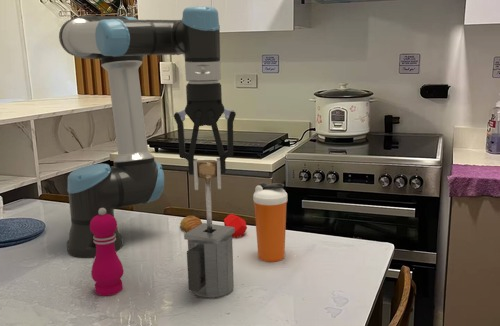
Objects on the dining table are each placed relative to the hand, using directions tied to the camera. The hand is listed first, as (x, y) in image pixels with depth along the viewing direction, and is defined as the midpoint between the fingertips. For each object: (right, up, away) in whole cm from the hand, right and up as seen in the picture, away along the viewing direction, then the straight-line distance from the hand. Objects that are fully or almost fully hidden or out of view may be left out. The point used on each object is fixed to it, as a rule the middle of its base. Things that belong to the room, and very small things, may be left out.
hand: (207, 187), depth 117 cm
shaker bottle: (+15, -20, +23) cm, 34 cm away
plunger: (0, -14, +3) cm, 14 cm away
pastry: (-8, -16, +46) cm, 50 cm away
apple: (+5, -16, +41) cm, 44 cm away
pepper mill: (-24, -24, +6) cm, 34 cm away
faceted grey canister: (0, -24, +4) cm, 24 cm away
